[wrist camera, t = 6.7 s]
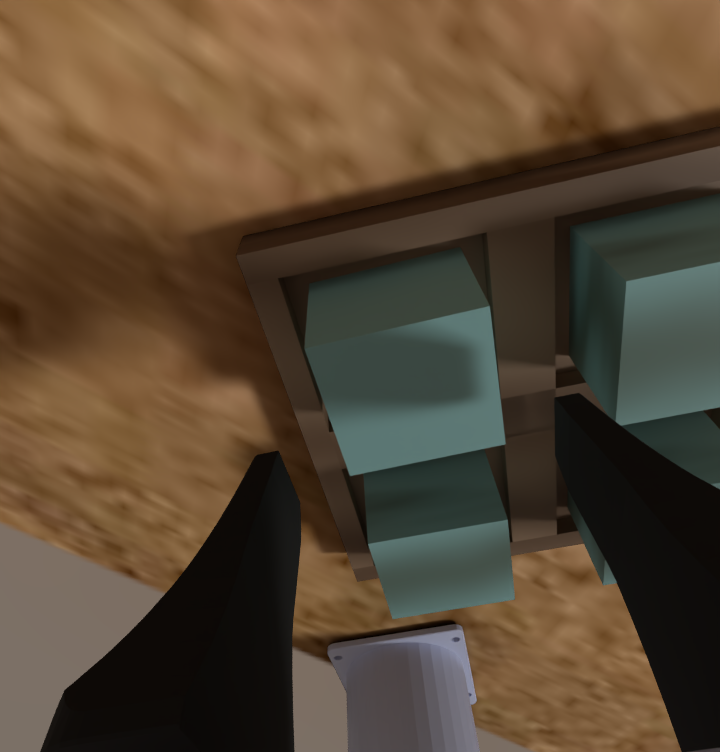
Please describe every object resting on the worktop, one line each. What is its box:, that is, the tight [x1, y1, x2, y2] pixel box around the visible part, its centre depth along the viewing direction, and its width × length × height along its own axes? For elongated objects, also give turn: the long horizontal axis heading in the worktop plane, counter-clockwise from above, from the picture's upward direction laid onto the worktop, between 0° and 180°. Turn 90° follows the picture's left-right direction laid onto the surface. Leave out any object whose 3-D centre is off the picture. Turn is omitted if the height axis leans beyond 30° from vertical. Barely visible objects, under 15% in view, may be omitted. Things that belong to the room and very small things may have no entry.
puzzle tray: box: [236, 127, 720, 619], centre depth 20 cm, size 17×17×5 cm
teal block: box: [304, 247, 506, 476], centre depth 17 cm, size 5×5×4 cm
